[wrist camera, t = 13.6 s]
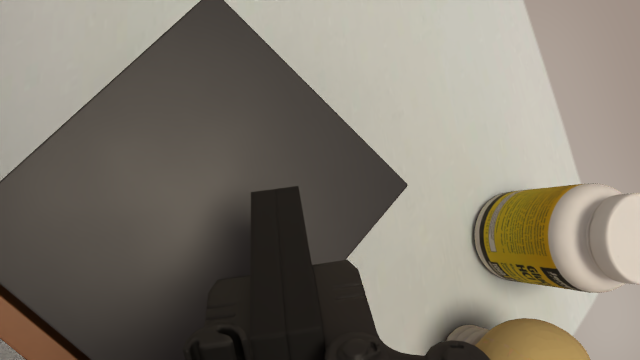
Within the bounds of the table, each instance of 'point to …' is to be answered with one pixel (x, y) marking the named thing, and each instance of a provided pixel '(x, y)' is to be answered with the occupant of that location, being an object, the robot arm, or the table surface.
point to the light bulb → (522, 341)
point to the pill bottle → (562, 237)
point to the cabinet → (178, 188)
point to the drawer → (32, 332)
